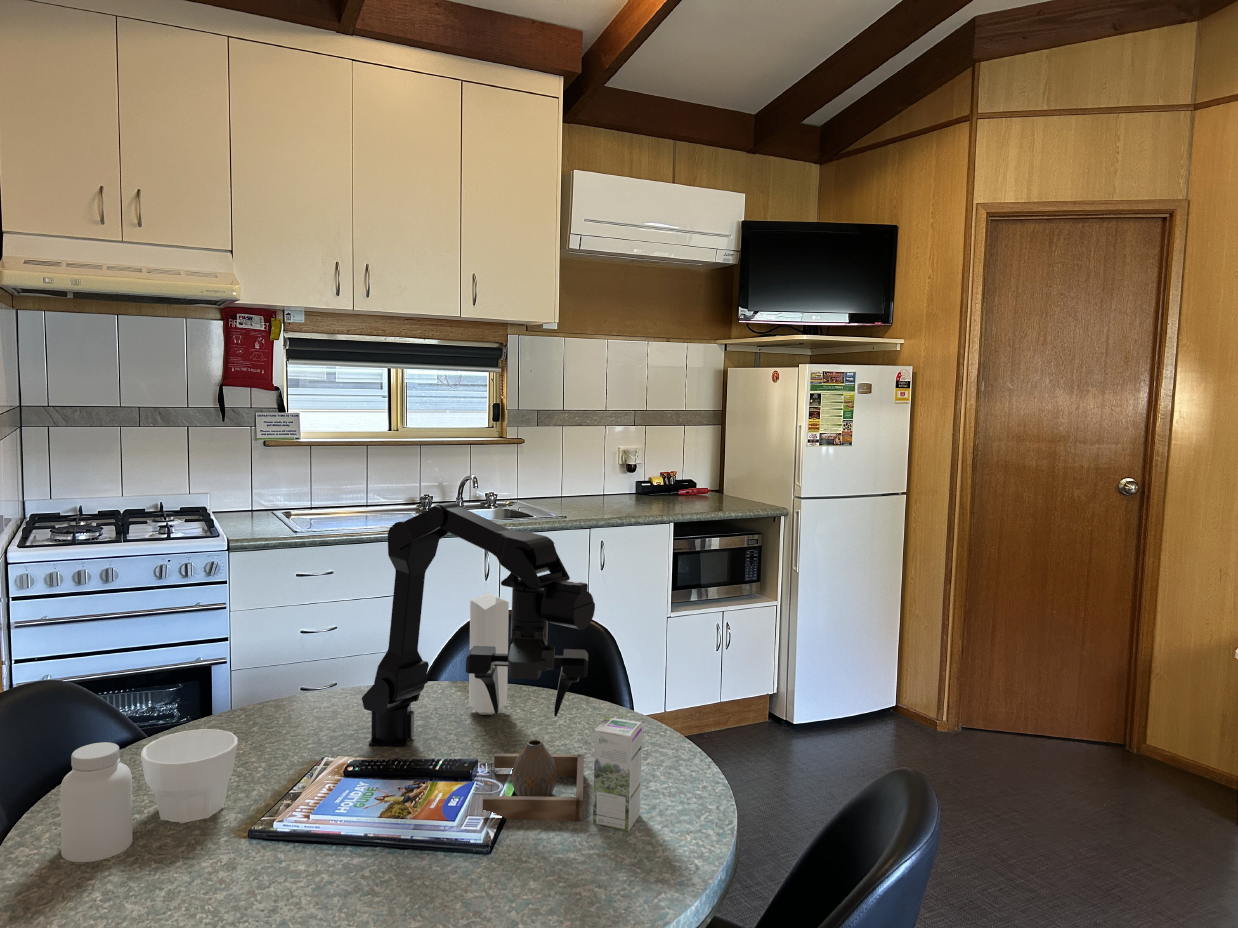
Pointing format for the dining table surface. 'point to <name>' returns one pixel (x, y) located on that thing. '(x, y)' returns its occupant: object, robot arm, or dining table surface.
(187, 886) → the dining table surface
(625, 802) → the syrup box
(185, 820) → the cup
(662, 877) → the dining table surface
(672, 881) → the dining table surface
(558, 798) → the frame
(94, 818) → the pill bottle
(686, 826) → the dining table surface
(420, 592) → the robot arm
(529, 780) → the vase
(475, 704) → the crystal
